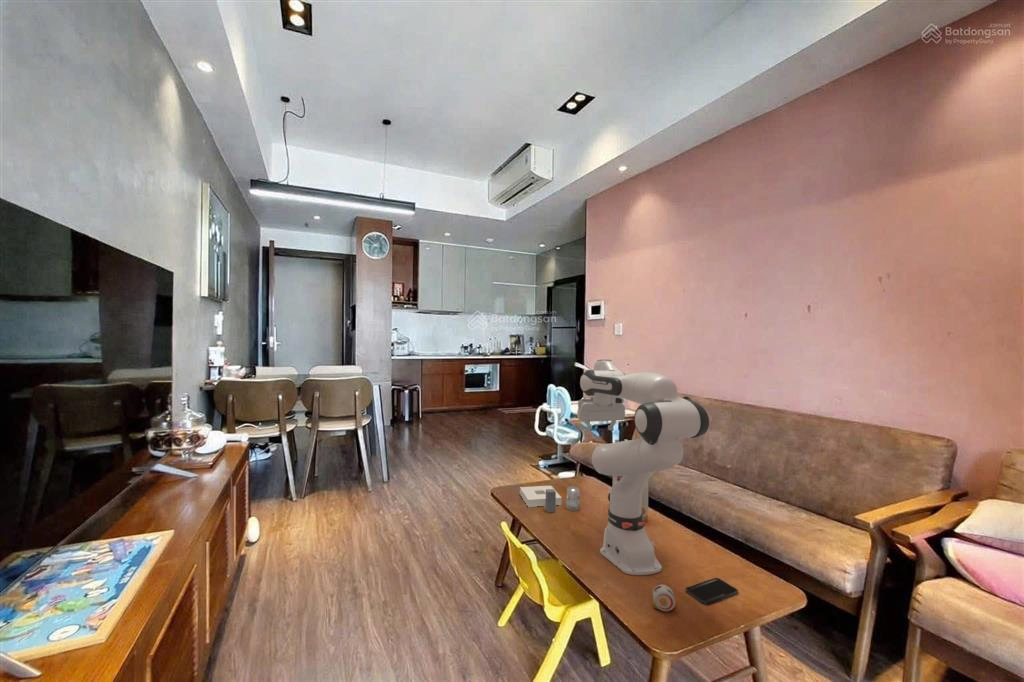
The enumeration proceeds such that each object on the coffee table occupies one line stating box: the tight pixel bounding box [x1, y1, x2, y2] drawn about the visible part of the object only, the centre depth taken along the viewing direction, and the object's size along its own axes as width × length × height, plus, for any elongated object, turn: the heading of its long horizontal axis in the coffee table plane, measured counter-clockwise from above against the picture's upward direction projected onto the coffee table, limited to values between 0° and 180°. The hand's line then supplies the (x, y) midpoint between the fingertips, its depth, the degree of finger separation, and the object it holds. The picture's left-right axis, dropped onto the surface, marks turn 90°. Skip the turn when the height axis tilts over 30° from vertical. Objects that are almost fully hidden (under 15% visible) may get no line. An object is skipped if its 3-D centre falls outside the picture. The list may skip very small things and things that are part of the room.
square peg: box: [544, 488, 557, 513], centre depth 181 cm, size 4×4×9 cm
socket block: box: [519, 485, 563, 508], centre depth 194 cm, size 16×16×4 cm
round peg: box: [566, 485, 580, 512], centre depth 184 cm, size 6×6×9 cm
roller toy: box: [651, 584, 676, 612], centre depth 116 cm, size 4×6×6 cm
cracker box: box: [612, 475, 649, 522], centre depth 174 cm, size 14×6×21 cm, turn 97°
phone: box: [685, 577, 739, 606], centre depth 124 cm, size 8×1×15 cm
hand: (599, 430), depth 170 cm, fingers open, 8 cm apart
